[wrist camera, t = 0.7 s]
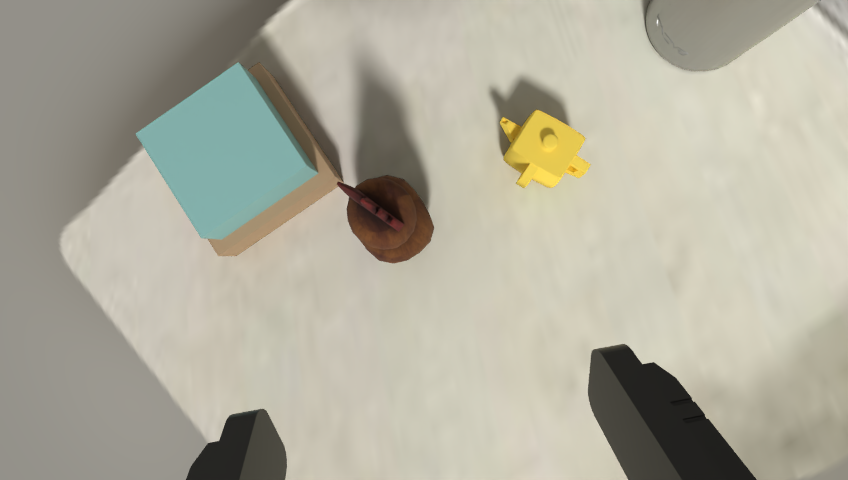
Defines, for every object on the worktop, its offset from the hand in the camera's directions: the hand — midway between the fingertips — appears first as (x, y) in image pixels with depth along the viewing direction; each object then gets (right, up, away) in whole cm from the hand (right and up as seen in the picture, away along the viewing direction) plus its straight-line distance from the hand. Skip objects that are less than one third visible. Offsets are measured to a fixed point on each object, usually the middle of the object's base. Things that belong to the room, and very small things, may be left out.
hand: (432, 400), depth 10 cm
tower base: (-16, +11, +29) cm, 35 cm away
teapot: (+9, +11, +28) cm, 31 cm away
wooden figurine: (-2, +5, +28) cm, 29 cm away
